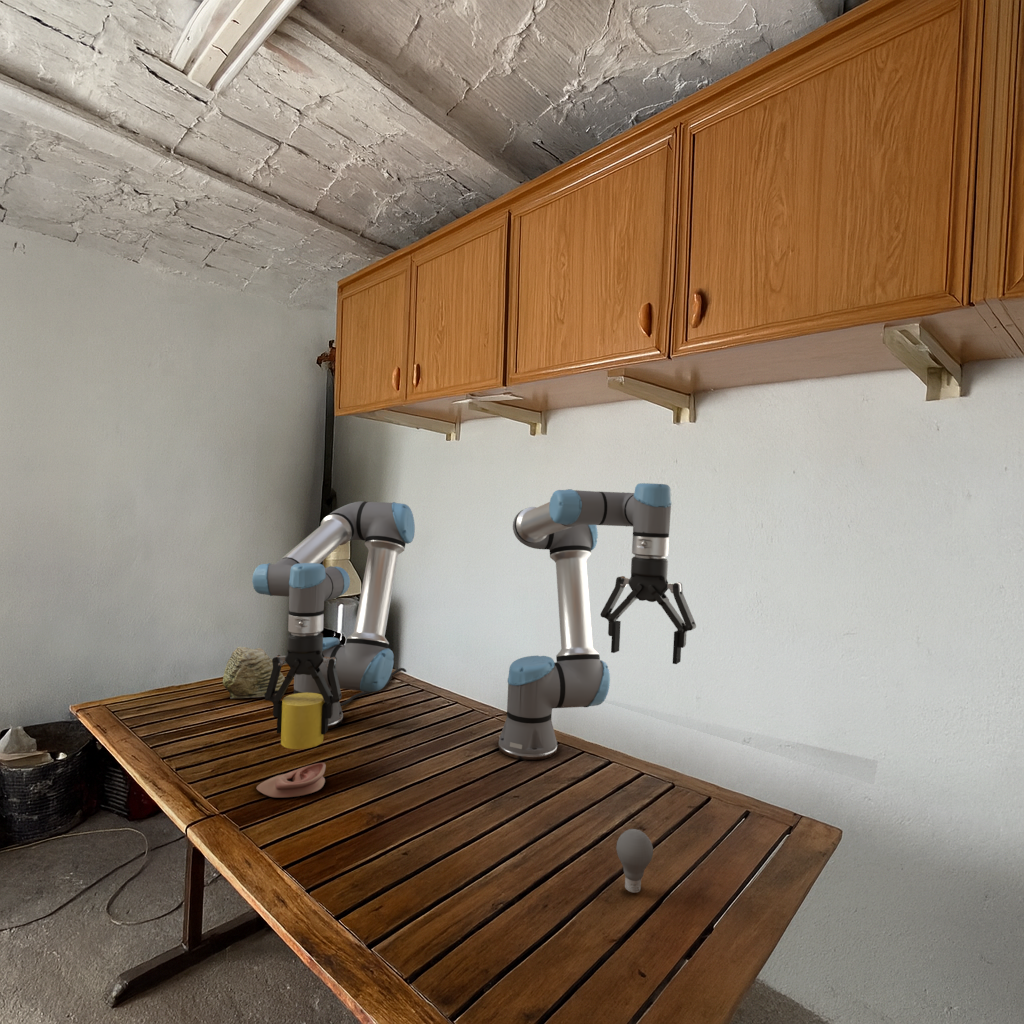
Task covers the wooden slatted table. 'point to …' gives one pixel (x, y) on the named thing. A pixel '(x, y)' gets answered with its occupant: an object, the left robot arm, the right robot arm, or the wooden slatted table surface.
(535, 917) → the wooden slatted table surface
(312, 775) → the anatomical model
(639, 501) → the right robot arm
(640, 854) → the light bulb
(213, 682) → the wooden slatted table surface
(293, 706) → the yellow cylinder
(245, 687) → the fossil
